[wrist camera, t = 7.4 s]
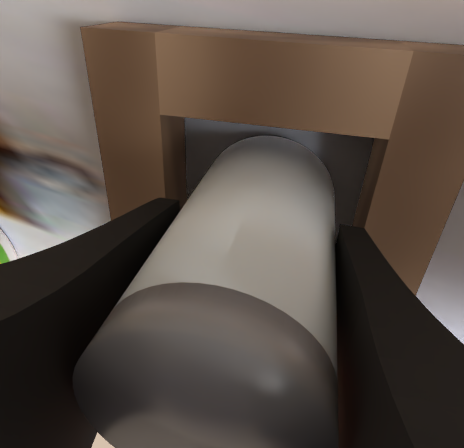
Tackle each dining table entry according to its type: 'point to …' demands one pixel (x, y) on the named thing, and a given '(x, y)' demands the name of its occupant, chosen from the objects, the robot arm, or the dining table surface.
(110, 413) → the cylinder
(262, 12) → the dining table surface
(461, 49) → the walnut housing
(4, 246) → the supplement bottle
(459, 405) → the robot arm
